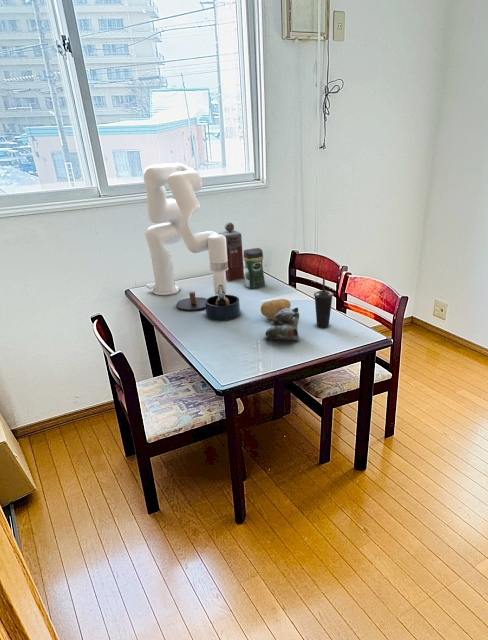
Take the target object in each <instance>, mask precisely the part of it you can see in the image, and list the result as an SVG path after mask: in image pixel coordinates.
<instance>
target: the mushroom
mask: <svg viewBox="0 0 488 640" xmlns="http://www.w3.org/2000/svg"><path fill="white" fill-rule="evenodd" d="M225 299H226V305H230V302H229V300H228V298H227V297H225ZM216 306H218V298H217V300H216Z"/></svg>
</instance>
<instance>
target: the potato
mask: <svg viewBox="0 0 488 640" xmlns="http://www.w3.org/2000/svg"><path fill="white" fill-rule="evenodd" d="M286 308H291V301H290V300H288V299H285V298H278V299H272V300H269V301H264V302H263V303H262V304H261V305H260V314H262V316H263V317H265V318H266V319H269V320H274V316H275V315H276V314H277V313H278V312H280V311H281V310H282V309H286Z"/></svg>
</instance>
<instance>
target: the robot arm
mask: <svg viewBox="0 0 488 640" xmlns="http://www.w3.org/2000/svg"><path fill="white" fill-rule="evenodd" d="M143 182H144V186H145V189H146V203H147V205H146V206H147V217H148V220H149V221H150V222H151V224H153V225H151V226H149V227H147V229H146V230H145V233H144V234H145V235H144V236H145V240H146V243H147V245H148V249H149V253H150V260H151V265H152V271H153V272H152V273H153V277H154V282H153V283H146V286H145V287H146V288H147V289H149V290H152V289H153V291H152V292H153V294H155V295H157V296H171V295H175V294H177V293H179V291H180V287H179V286H178V285H176V280H175V279H176V278H175V273H174V264H173V257H172V254H171V252H170V250H169V249H168V248H167V247H166V246H168V245H173V244H177V243H179V242H181V241H182V240H183V243H184V245H185V247H186V248H187V249H188V251H189V252H190V253H193V254H198V253H202V252H206V251H208V259H209V270H210V271H211V272H212V277H213V278H212V280H213V293H214V296H216V295H218V306H224V305H226V299H225V295H227V280H226V270H228V258H227V245H226V237H225V236H224V235H221V234H219V233H218V232H216V231H214V230H206V231H201V232H196V233H193V231H192V228H191V226H190V218H192V216H193V217H194V215H196V214H197V213H198V212H199V210H200V209H201V203H200V202H199V200H198V197H197V196H196V193H197V192H199V191H201V190H202V188H203V180H202V178H201V175H200V174H199V172H197V171H196V170H195V169H194V168H192V167H190V166H187V165H185V164H183V163H181V162H172V163H162V164H161V163H160V164H153V165H149V166H147V167H146V168H145V169H144V171H143ZM165 187H168V188H169V190H170V192H171V194H172V196H173V198H167V197H168V195H167V194H168V193H167V190H166V188H165Z"/></svg>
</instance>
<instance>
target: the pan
mask: <svg viewBox="0 0 488 640" xmlns="http://www.w3.org/2000/svg"><path fill="white" fill-rule="evenodd" d="M225 297H227V298H228V300H229V302H230V305H224V306H216V300H217V298H218V294H216V295H213V296H209V297H207V298H206V300H205V306H206V308H205V313H206V318H208V319H210V320H211V321H216V322H217V321H218V322H224V321H225V322H227V321H232V320H235V319H237V318H239V317H240V315H241V305H240V304H241V303H240V298H239V297H238V296H236V295H233V294H225Z"/></svg>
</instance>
